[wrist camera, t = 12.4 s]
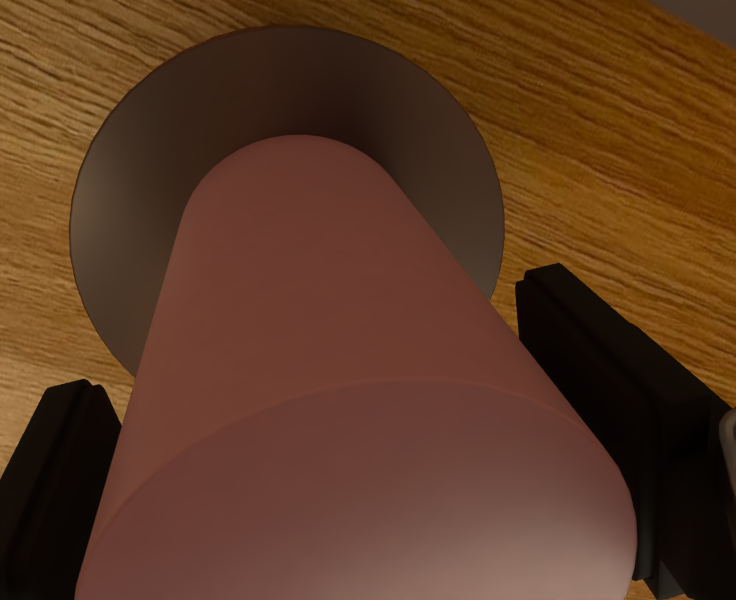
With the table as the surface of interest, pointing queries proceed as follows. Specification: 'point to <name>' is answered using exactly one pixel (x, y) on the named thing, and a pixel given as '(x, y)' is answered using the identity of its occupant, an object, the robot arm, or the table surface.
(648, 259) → the table surface
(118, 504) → the pink cylinder
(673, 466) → the robot arm
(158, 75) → the stand
